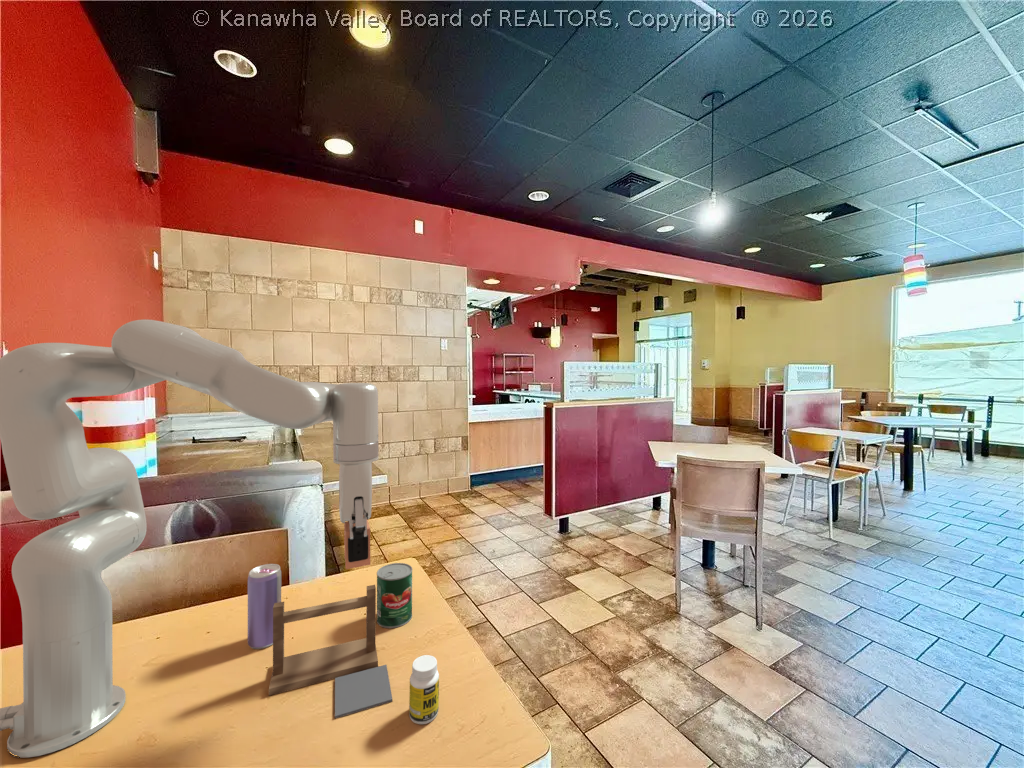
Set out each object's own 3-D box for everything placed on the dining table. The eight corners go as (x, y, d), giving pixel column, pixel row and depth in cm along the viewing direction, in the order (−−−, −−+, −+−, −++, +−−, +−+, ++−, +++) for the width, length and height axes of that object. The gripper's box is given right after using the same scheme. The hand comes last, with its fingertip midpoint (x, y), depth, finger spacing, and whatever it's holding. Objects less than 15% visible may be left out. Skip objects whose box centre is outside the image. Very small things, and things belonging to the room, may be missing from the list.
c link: (345, 569, 69) (345, 532, 69) (344, 556, 74) (344, 522, 74) (370, 564, 71) (370, 528, 71) (367, 552, 75) (367, 518, 75)
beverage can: (265, 652, 81) (265, 578, 80) (240, 648, 82) (240, 574, 82) (287, 634, 86) (287, 564, 86) (263, 630, 88) (264, 561, 87)
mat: (334, 718, 65) (334, 716, 65) (335, 680, 73) (335, 678, 73) (392, 701, 69) (392, 699, 69) (386, 666, 77) (386, 664, 77)
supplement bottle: (424, 730, 63) (424, 677, 63) (403, 717, 66) (403, 666, 66) (444, 709, 67) (445, 659, 67) (424, 697, 70) (424, 649, 70)
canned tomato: (397, 604, 98) (397, 559, 98) (419, 615, 94) (419, 568, 93) (369, 620, 92) (369, 572, 92) (391, 633, 87) (391, 582, 87)
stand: (268, 695, 70) (269, 617, 70) (275, 665, 77) (275, 594, 77) (377, 666, 77) (378, 596, 77) (374, 641, 84) (374, 577, 84)
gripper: (332, 446, 78) (333, 539, 78) (334, 463, 62) (335, 579, 63) (373, 443, 81) (373, 533, 81) (384, 459, 66) (385, 569, 66)
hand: (357, 552), depth 72 cm, fingers closed on c link, 5 cm apart
